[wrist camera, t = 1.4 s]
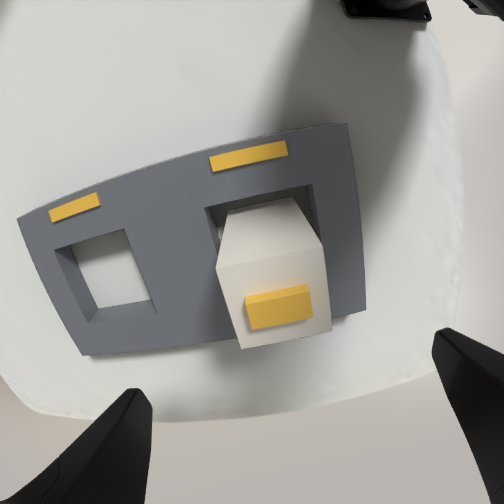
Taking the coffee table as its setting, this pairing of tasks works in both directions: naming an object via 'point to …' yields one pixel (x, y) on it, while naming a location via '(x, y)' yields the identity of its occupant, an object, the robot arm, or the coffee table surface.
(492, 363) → the robot arm
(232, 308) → the plug
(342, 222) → the panel
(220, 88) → the coffee table surface
